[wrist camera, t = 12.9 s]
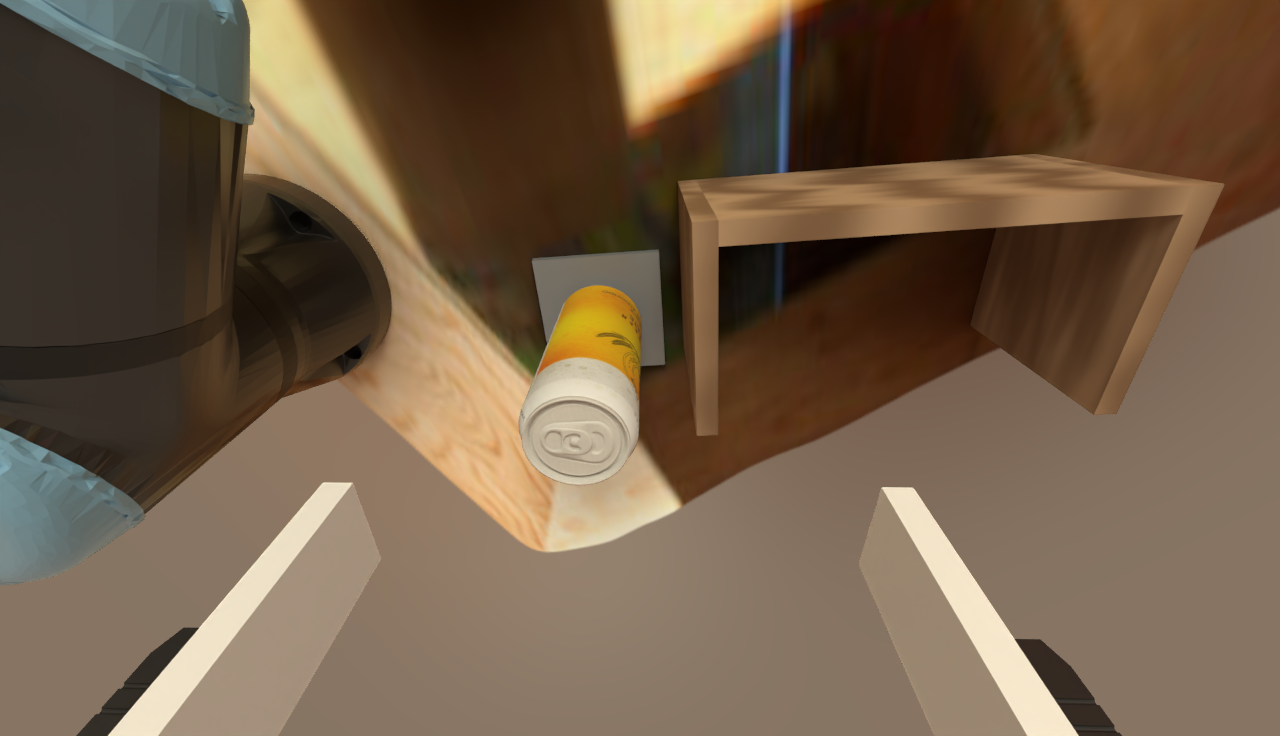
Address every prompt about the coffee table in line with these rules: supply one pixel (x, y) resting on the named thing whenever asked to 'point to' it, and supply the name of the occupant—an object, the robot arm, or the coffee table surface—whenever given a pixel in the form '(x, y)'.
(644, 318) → the slate coaster
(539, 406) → the beer can
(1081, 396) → the wooden monitor riser
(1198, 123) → the coffee table surface
